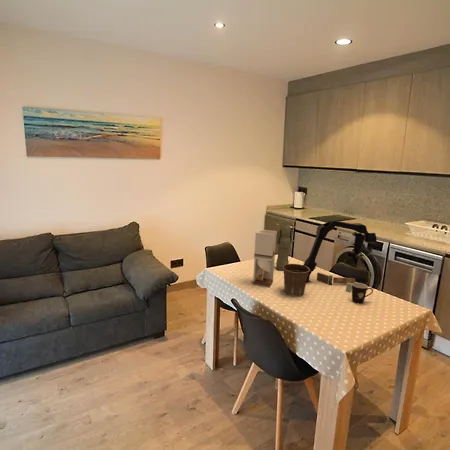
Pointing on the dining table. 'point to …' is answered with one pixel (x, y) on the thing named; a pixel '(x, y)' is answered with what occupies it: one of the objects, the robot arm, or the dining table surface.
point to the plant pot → (295, 279)
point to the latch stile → (349, 287)
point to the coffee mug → (359, 292)
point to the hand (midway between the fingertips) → (356, 264)
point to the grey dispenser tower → (264, 258)
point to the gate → (343, 280)
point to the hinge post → (324, 278)
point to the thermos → (283, 245)
